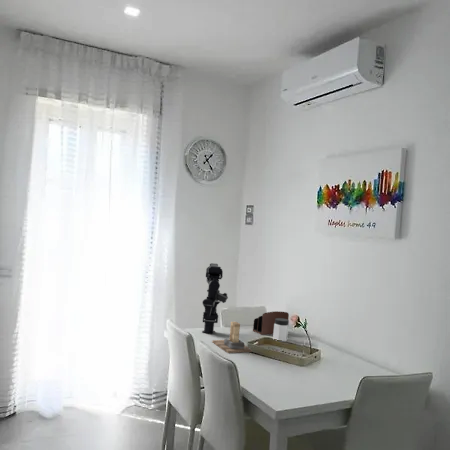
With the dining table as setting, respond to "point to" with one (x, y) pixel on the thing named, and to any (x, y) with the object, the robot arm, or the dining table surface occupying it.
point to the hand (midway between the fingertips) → (211, 315)
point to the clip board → (231, 346)
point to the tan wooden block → (234, 332)
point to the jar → (281, 329)
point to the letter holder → (268, 322)
